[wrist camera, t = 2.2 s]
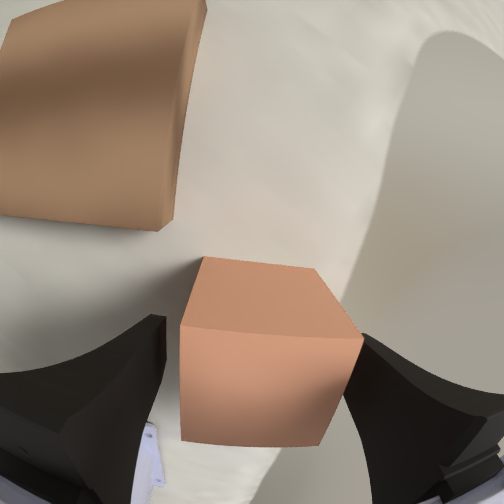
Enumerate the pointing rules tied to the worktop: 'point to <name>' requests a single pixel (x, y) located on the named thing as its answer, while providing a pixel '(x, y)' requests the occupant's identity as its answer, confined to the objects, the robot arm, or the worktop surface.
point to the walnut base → (96, 110)
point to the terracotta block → (262, 355)
